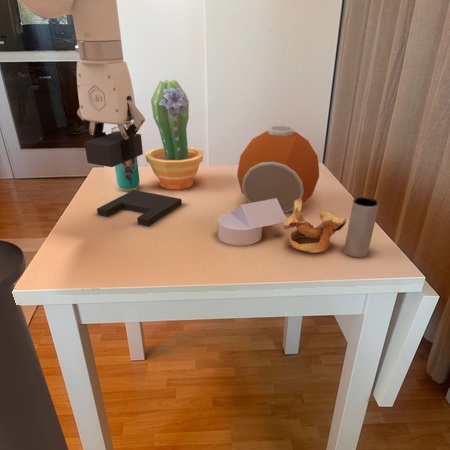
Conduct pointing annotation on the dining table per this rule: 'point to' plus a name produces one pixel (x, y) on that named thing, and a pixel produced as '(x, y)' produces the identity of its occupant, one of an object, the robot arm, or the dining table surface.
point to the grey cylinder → (361, 226)
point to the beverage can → (127, 172)
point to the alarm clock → (278, 168)
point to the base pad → (142, 206)
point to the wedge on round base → (249, 222)
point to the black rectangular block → (109, 149)
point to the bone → (312, 229)
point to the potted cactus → (173, 138)
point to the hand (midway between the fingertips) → (115, 155)
